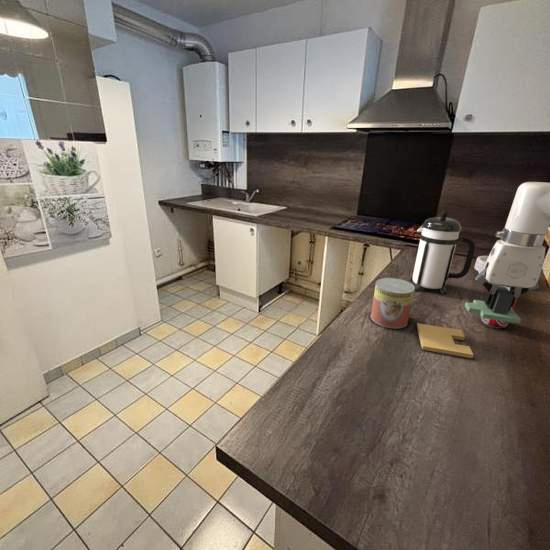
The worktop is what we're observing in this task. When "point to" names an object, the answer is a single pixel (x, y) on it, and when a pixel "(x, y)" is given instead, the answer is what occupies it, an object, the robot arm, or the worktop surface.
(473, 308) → the sage pad
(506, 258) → the robot arm
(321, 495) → the worktop surface
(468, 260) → the coffee press
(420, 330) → the sand pad
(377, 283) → the canned food
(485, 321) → the soda can
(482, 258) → the paper bowls
